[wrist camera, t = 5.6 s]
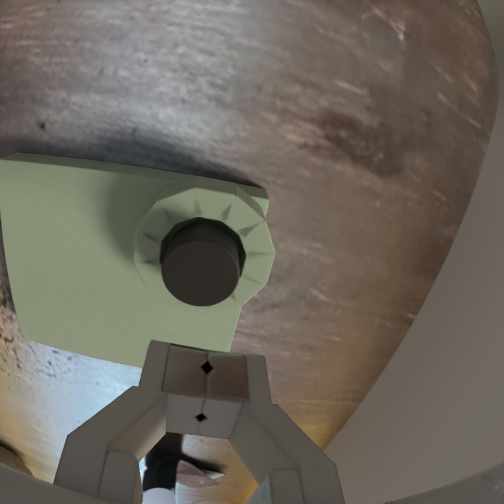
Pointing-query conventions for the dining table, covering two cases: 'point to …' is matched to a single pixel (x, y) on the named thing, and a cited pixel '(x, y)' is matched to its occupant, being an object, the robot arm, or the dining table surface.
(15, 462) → the bowl
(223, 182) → the scale
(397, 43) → the dining table surface
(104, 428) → the robot arm
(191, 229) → the tare button
